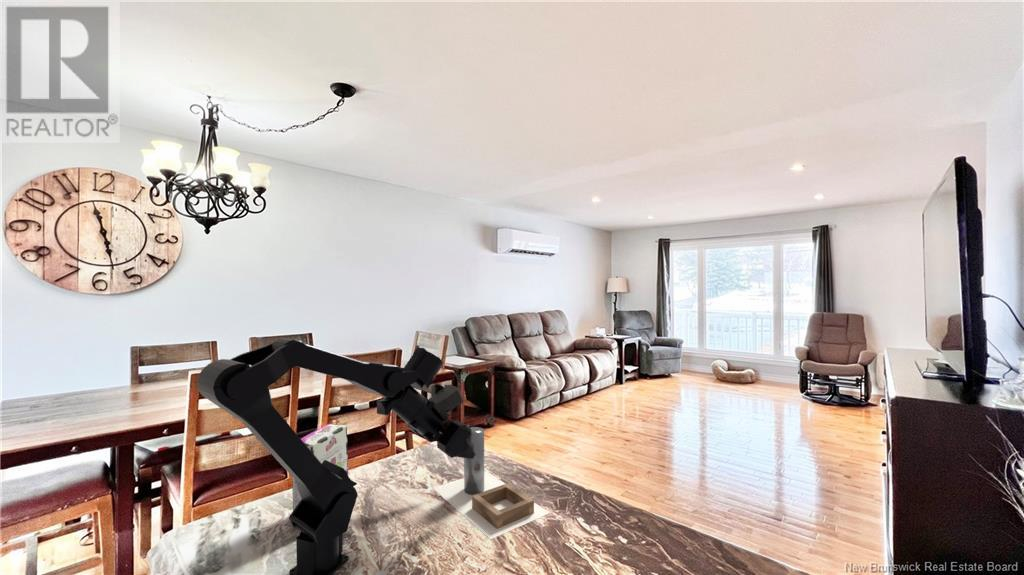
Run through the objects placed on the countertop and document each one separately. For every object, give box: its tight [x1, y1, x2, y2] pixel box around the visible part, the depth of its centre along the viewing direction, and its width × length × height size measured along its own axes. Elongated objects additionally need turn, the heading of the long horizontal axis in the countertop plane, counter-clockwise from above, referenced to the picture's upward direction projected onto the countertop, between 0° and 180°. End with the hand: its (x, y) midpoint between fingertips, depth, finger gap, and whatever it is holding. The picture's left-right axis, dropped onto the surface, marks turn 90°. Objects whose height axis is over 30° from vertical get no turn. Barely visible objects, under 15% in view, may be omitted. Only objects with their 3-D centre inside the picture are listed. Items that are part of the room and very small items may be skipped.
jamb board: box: [432, 470, 550, 540], centre depth 86 cm, size 23×14×1 cm, turn 37°
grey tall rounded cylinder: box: [463, 426, 485, 495], centre depth 90 cm, size 4×4×13 cm
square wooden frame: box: [472, 482, 535, 529], centre depth 82 cm, size 9×9×2 cm
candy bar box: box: [291, 423, 349, 530], centre depth 83 cm, size 11×5×16 cm, turn 168°
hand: (462, 449), depth 89 cm, fingers open, 9 cm apart
